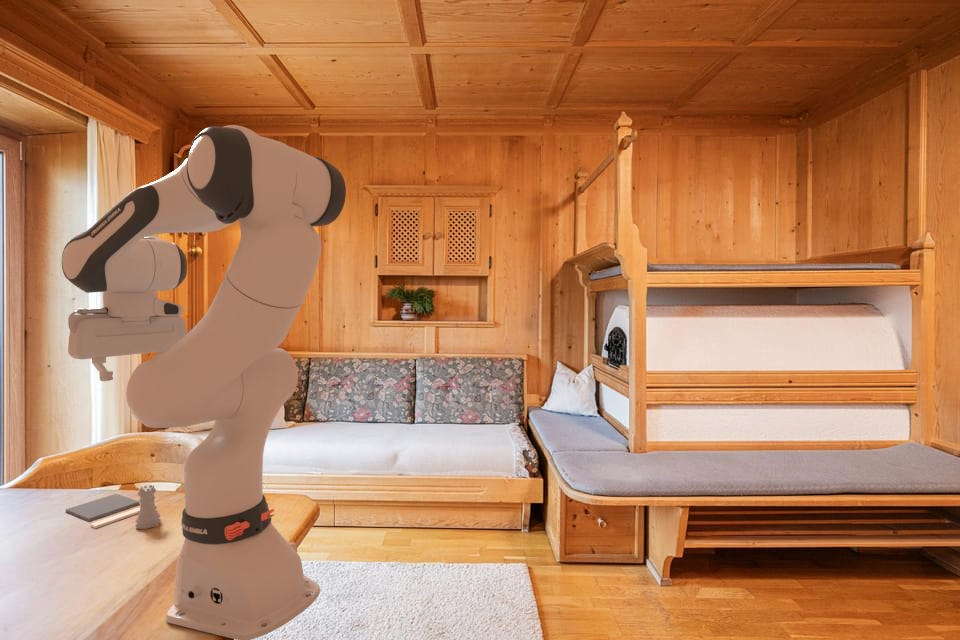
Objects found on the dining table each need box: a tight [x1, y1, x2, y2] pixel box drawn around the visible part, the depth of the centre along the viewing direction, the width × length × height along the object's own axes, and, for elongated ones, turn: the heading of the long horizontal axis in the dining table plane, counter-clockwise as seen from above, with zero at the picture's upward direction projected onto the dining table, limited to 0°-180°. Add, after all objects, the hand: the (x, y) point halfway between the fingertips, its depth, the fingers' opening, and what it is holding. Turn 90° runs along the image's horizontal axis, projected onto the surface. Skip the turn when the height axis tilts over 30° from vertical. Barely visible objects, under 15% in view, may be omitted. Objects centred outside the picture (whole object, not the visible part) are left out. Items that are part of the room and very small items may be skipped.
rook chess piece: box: [135, 484, 162, 530], centre depth 104 cm, size 4×4×8 cm
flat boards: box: [65, 493, 157, 529], centre depth 112 cm, size 15×12×1 cm
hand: (133, 376), depth 100 cm, fingers open, 8 cm apart
